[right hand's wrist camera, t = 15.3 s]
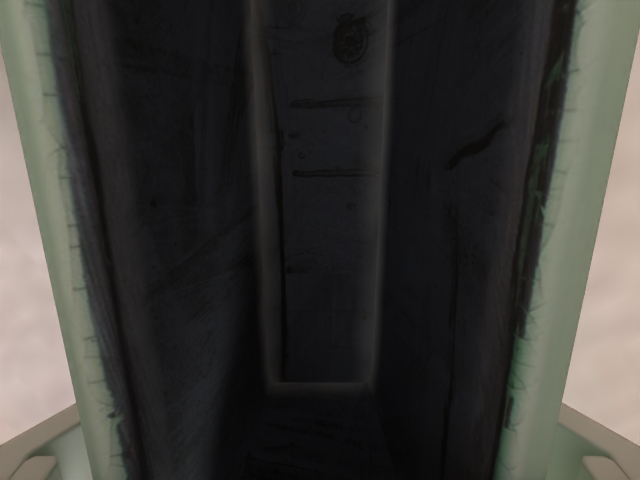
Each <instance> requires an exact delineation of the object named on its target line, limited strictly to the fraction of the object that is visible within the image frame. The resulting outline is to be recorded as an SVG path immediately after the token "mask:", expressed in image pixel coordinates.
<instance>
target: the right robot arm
mask: <svg viewBox="0 0 640 480" xmlns="http://www.w3.org/2000/svg"><path fill="white" fill-rule="evenodd" d="M0 480H93V478H92V473H91V469H90V464H89V459H88V454H87V450H86V445H85V440H84V436H83V431H82V426H81V422H80V417H79V412H78V408H77V403H75V404H73V405H72V406H70V407H68V408H66V409H65V410H63V411H61V412H59V413H57V414H56V415H54V416H52V417H50V418H48V419H47V420H45V421H43V422H41V423H40V424H38V425H36V426H34V427H32V428H31V429H29V430H27V431H25V432H23V433H22V434H20V435H18V436H16V437H15V438H13V439H11V440H9V441H7V442H6V443H4V444H2V445H0ZM545 480H640V446H638V445H636V444H635V443H633V442H631V441H629V440H628V439H626V438H624V437H622V436H621V435H619V434H617V433H615V432H613V431H612V430H610V429H608V428H606V427H605V426H603V425H601V424H599V423H597V422H596V421H594V420H592V419H590V418H589V417H587V416H585V415H583V414H581V413H580V412H578V411H576V410H574V409H573V408H571V407H569V406H567V405H565V404H564V403H561V408H560V412H559V417H558V422H557V427H556V431H555V436H554V441H553V446H552V450H551V455H550V460H549V465H548V469H547V474H546V479H545Z"/></svg>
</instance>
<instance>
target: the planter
mask: <svg viewBox="0 0 640 480" xmlns="http://www.w3.org/2000/svg"><path fill="white" fill-rule="evenodd" d="M639 29H640V0H0V44H1V48H2V53H3V58H4V63H5V67H6V72H7V77H8V82H9V86H10V91H11V96H12V101H13V105H14V110H15V115H16V120H17V124H18V129H19V134H20V138H21V143H22V148H23V153H24V157H25V162H26V167H27V172H28V176H29V181H30V186H31V191H32V195H33V200H34V205H35V210H36V214H37V219H38V224H39V229H40V233H41V238H42V243H43V248H44V252H45V257H46V262H47V267H48V271H49V276H50V281H51V285H52V290H53V295H54V300H55V304H56V309H57V314H58V318H59V323H60V328H61V332H62V337H63V342H64V346H65V351H66V356H67V361H68V365H69V370H70V375H71V379H72V384H73V389H74V393H75V398H76V403H77V408H78V412H79V417H80V422H81V426H82V431H83V436H84V440H85V445H86V450H87V454H88V459H89V464H90V469H91V473H92V478H93V480H545V479H546V474H547V469H548V465H549V460H550V455H551V450H552V446H553V441H554V436H555V431H556V427H557V422H558V417H559V412H560V408H561V403H562V398H563V393H564V388H565V384H566V379H567V374H568V369H569V365H570V360H571V355H572V350H573V346H574V341H575V336H576V331H577V327H578V322H579V317H580V312H581V308H582V303H583V298H584V293H585V288H586V284H587V279H588V274H589V269H590V265H591V260H592V255H593V250H594V245H595V241H596V236H597V231H598V226H599V221H600V216H601V212H602V207H603V202H604V197H605V192H606V188H607V183H608V178H609V173H610V168H611V164H612V159H613V154H614V149H615V144H616V139H617V135H618V130H619V125H620V120H621V115H622V111H623V106H624V101H625V96H626V91H627V87H628V82H629V77H630V72H631V67H632V62H633V58H634V53H635V48H636V43H637V38H638V34H639Z"/></svg>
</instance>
